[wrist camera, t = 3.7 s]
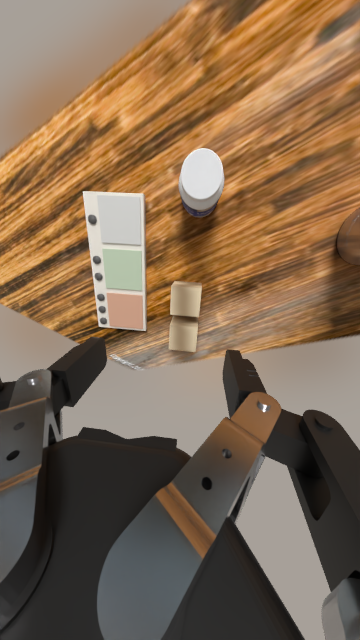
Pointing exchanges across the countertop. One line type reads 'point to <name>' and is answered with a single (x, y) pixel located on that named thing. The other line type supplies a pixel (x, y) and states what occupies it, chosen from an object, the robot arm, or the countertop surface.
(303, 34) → the countertop surface
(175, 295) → the maple block
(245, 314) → the countertop surface
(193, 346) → the maple block
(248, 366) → the robot arm
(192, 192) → the pill bottle
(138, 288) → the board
